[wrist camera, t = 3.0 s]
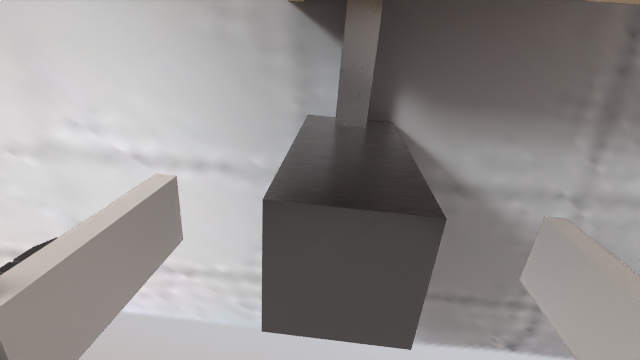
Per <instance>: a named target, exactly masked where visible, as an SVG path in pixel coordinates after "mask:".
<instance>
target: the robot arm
mask: <svg viewBox="0 0 640 360" xmlns="http://www.w3.org/2000/svg"><path fill="white" fill-rule="evenodd" d="M182 240H183V235H182V225H181V215H180V205H179V196H178V186H177V176H172V175H163V174H155V175H154V176H152V177H151V178H149V179H148V180H146V181H144V182H143V183H141V184H140V185H138V186H137V187H135V188H134V189H132V190H131V191H129V192H128V193H126V194H125V195H123V196H121V197H120V198H118V199H117V200H115V201H114V202H112V203H111V204H109V205H108V206H106V207H105V208H103V209H102V210H100V211H98V212H97V213H95V214H94V215H92V216H91V217H89V218H88V219H86V220H85V221H83V222H82V223H80V224H79V225H77V226H75V227H74V228H72V229H71V230H69V231H68V232H66V233H65V234H63V235H62V236H60V237H59V238H54V239H52V240H49V241H47V242H45V243H42V244H40V245H37V246H35V247H33V248H31V249H29V250H28V251H26V252H25V253H23V254H22V255H20V256H18V257H17V258H15V259H14V261H13V262H9V263H7V264H6V265H4V266H3V267H1V268H0V360H78V359H79V358H80V357H81V356H82V355H83V354H84V352H85V351H86V350H87V349H88V348H89V347H90V346H91V344H92V343H93V342H94V341H95V340H96V338H97V337H98V336H99V335H100V334H101V333H102V332H103V331H104V329H105V328H106V327H107V326H108V325H109V324H110V323H111V321H112V320H113V319H114V318H115V317H116V316H117V315H118V313H119V312H120V311H121V310H122V309H123V308H124V307H125V305H126V304H127V303H128V302H129V301H130V300H131V299H132V297H133V296H134V295H135V294H136V293H137V292H138V291H139V289H140V288H141V287H142V286H143V285H144V284H145V283H146V281H147V280H148V279H149V278H150V277H151V276H152V274H153V273H154V272H155V271H156V270H157V269H158V268H159V266H160V265H161V264H162V263H163V262H164V261H165V260H166V258H167V257H168V256H169V255H170V254H171V253H172V252H173V250H174V249H175V248H176V247H177V246H178V245H179V244H180V242H181V241H182ZM519 281H520V282H521V283H522V285H523V286H524V288H525V289H526V290H527V292H528V293H529V295H530V296H531V297H532V299H533V300H534V301H535V303H536V304H537V306H538V307H539V308H540V310H541V311H542V313H543V314H544V315H545V317H546V318H547V320H548V321H549V322H550V324H551V325H552V327H553V328H554V329H555V331H556V332H557V334H558V335H559V336H560V338H561V339H562V341H563V342H564V343H565V345H566V346H567V347H568V349H569V350H570V352H571V353H572V354H573V356H574V357H575V359H576V360H640V277H639V276H638V275H637V274H636V273H634V272H633V271H632V270H631V269H629V268H628V267H627V266H626V265H624V264H623V263H622V262H621V261H619V260H618V259H617V258H616V257H614V256H613V255H612V254H611V253H609V252H608V251H607V250H606V249H604V248H603V247H602V246H601V245H599V244H598V243H597V242H596V241H594V240H593V239H592V238H591V237H589V236H588V235H587V234H586V233H584V232H583V231H582V230H581V229H579V228H578V227H577V226H576V225H574V224H573V223H572V222H571V221H569V220H568V219H563V218H553V217H544V219H543V222H542V224H541V227H540V229H539V232H538V234H537V237H536V239H535V242H534V244H533V247H532V249H531V252H530V254H529V257H528V259H527V262H526V264H525V267H524V269H523V272H522V274H521V277H520V279H519Z"/></svg>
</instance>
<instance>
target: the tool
mask: <svg viewBox="0 0 640 360" xmlns="http://www.w3.org/2000/svg"><path fill="white" fill-rule="evenodd" d="M383 1H384V0H347V9H346V19H345V29H344V39H343V49H342V60H341V70H340V80H339V90H338V100H337V110H336V118H335V117H324V116H314V115H308V116H307V118H306V120H305V122H304V123H303V125H302V127H301V129H300V131H299V133H298V135H297V137H296V138H295V140H294V142H293V144H292V146H291V148H290V150H289V151H288V153H287V155H286V157H285V159H284V161H283V163H282V164H281V166H280V168H279V170H278V172H277V174H276V176H275V178H274V179H273V181H272V183H271V185H270V187H269V189H268V191H267V192H266V194H265V196H264V198H263V234H262V331H263V332H271V333H279V334H287V335H295V336H303V337H312V338H320V339H328V340H336V341H344V342H353V343H360V344H368V345H377V346H385V347H393V348H401V349H409V350H411V348H412V344H413V340H414V337H415V333H416V329H417V326H418V322H419V318H420V315H421V311H422V307H423V304H424V300H425V296H426V292H427V289H428V285H429V281H430V278H431V274H432V270H433V267H434V263H435V259H436V256H437V252H438V248H439V245H440V241H441V237H442V233H443V230H444V226H445V222H446V217H445V215H444V214H443V212H442V210H441V208H440V206H439V205H438V203H437V201H436V199H435V198H434V196H433V194H432V192H431V190H430V189H429V187H428V185H427V183H426V181H425V180H424V178H423V176H422V174H421V172H420V171H419V169H418V167H417V165H416V163H415V162H414V160H413V158H412V156H411V154H410V153H409V151H408V149H407V147H406V146H405V144H404V142H403V140H402V138H401V137H400V135H399V133H398V131H397V129H396V128H395V126H394V124H393V123H387V122H377V121H367V117H368V110H369V103H370V95H371V88H372V81H373V74H374V66H375V59H376V52H377V45H378V37H379V30H380V23H381V16H382V8H383Z"/></svg>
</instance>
